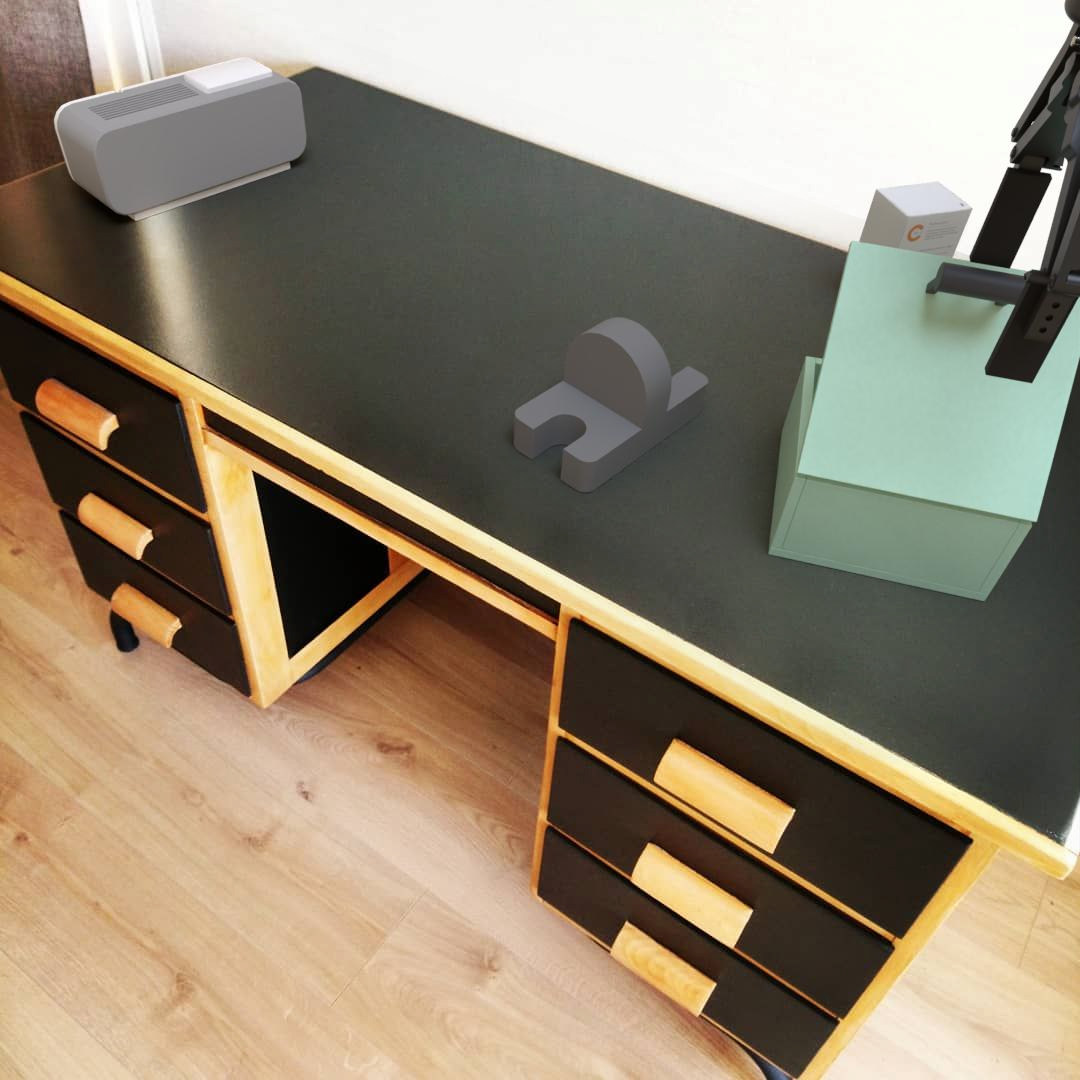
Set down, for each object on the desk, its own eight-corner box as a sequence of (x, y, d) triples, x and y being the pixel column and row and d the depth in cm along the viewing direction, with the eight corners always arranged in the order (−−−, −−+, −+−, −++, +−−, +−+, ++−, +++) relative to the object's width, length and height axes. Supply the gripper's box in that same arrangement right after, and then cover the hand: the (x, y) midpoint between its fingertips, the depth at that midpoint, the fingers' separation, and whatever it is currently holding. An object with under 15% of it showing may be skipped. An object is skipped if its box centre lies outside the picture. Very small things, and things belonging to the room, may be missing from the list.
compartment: (781, 431, 90) (806, 355, 84) (970, 469, 88) (1010, 394, 82) (767, 554, 79) (794, 477, 73) (984, 601, 77) (1032, 526, 70)
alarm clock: (269, 139, 127) (255, 46, 118) (310, 164, 123) (299, 68, 114) (77, 200, 113) (44, 99, 104) (116, 230, 109) (86, 127, 100)
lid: (849, 242, 71) (865, 222, 65) (1094, 285, 69) (1132, 268, 63) (795, 473, 73) (805, 472, 67) (1032, 522, 70) (1064, 525, 65)
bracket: (507, 443, 87) (512, 346, 79) (631, 365, 96) (645, 272, 88) (585, 496, 83) (597, 399, 75) (706, 409, 92) (728, 314, 84)
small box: (898, 286, 110) (939, 179, 101) (930, 316, 106) (975, 207, 97) (839, 295, 108) (874, 187, 99) (869, 325, 104) (909, 216, 95)
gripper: (1062, -126, 54) (931, 215, 70) (1147, 10, 38) (949, 421, 53) (1199, -110, 53) (1035, 233, 69) (1348, 37, 37) (1087, 447, 52)
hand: (997, 315), depth 61 cm, fingers open, 13 cm apart
